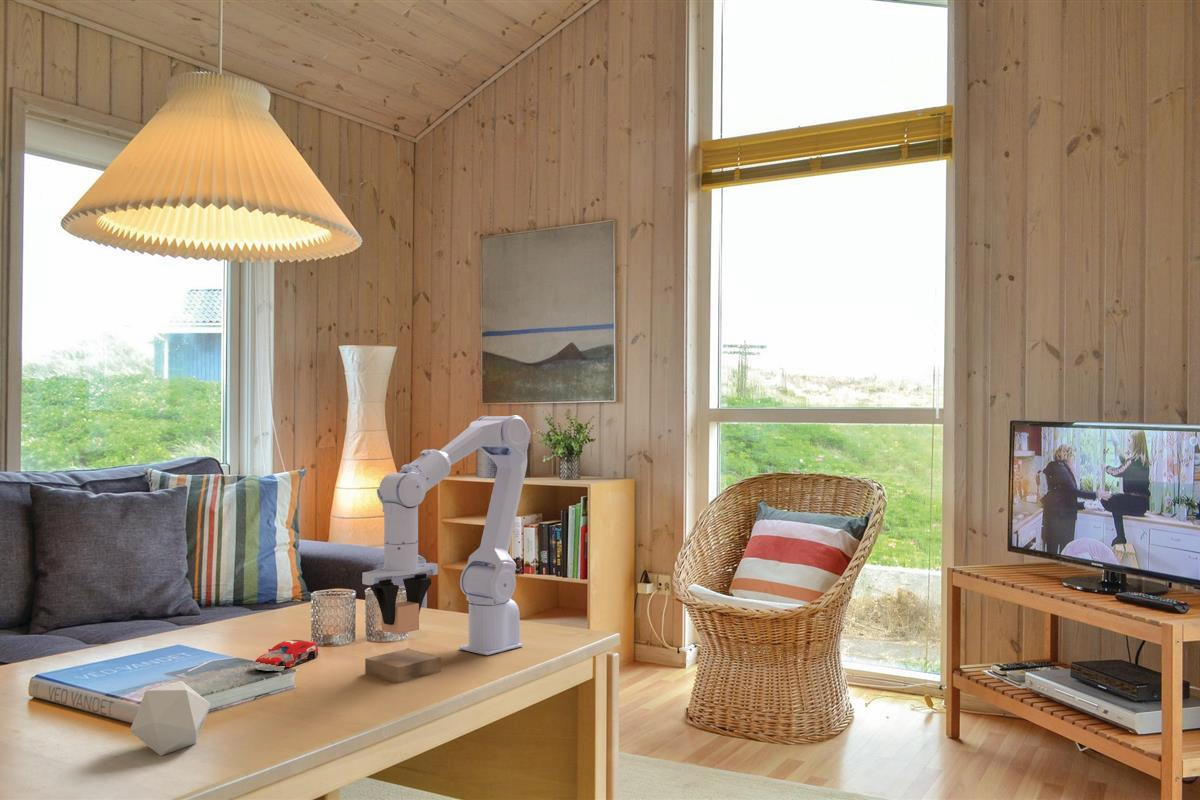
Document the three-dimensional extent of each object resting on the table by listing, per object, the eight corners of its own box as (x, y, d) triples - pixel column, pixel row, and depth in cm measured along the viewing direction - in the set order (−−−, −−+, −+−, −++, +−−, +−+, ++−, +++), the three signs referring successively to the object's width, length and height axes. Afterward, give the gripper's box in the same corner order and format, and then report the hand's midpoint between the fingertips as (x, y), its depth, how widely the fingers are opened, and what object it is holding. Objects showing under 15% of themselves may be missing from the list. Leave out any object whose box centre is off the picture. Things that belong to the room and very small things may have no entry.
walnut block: (407, 665, 166) (407, 648, 166) (440, 674, 160) (440, 656, 160) (365, 676, 159) (365, 658, 159) (398, 685, 153) (398, 667, 153)
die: (210, 758, 121) (228, 683, 128) (149, 739, 116) (171, 662, 122) (170, 770, 125) (190, 697, 132) (109, 753, 120) (133, 677, 126)
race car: (272, 677, 159) (272, 653, 159) (247, 673, 161) (247, 650, 161) (324, 658, 171) (324, 636, 171) (300, 655, 173) (300, 633, 173)
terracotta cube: (403, 626, 164) (403, 600, 164) (419, 629, 161) (419, 603, 162) (381, 630, 161) (381, 604, 161) (397, 634, 158) (397, 607, 158)
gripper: (420, 536, 170) (420, 611, 169) (351, 544, 159) (351, 625, 158) (445, 539, 165) (445, 617, 165) (376, 548, 154) (376, 631, 154)
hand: (401, 621), depth 161 cm, fingers closed on terracotta cube, 4 cm apart
